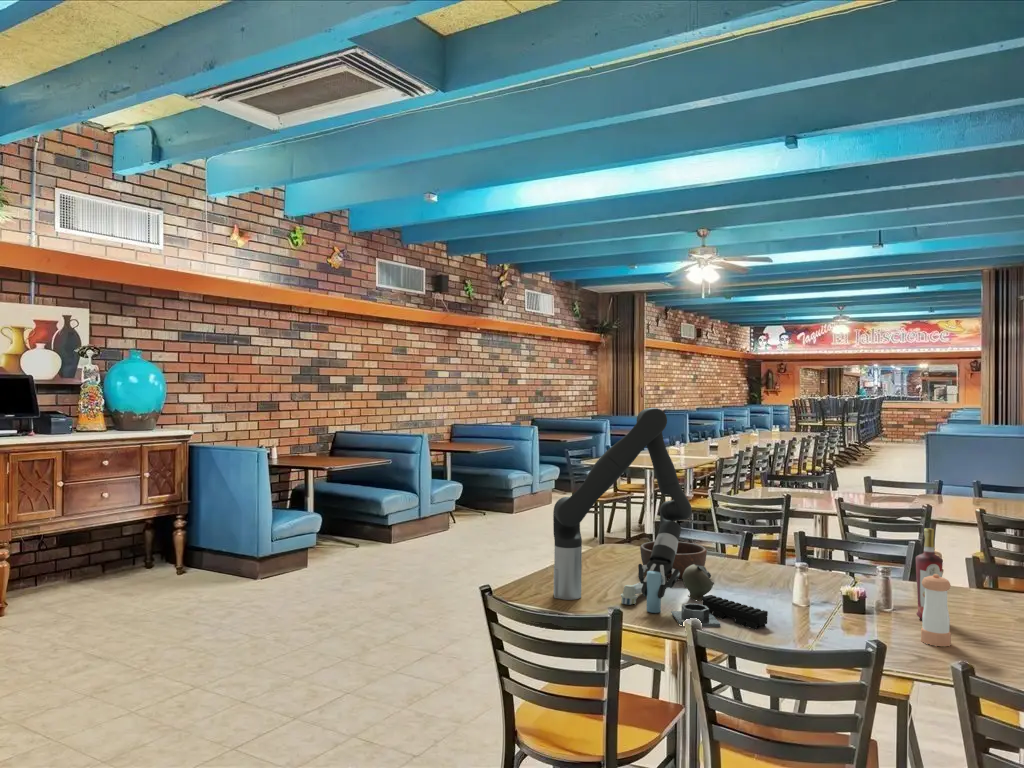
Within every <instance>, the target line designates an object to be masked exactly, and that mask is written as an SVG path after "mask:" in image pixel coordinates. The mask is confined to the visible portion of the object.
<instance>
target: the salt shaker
mask: <svg viewBox="0 0 1024 768" xmlns="http://www.w3.org/2000/svg"><path fill="white" fill-rule="evenodd" d="M922 585H923V587H925V604H924V610H923V615H922V619H921V621H922V627H921V628H920V641H921V642H922V643H923V642H924V643H923V644H925V643H927V644H926V645H928V644H930V645H929V646H931V645H936V646H935V647H937V646H949V647H951V646H952V632H951V631H950V624H951V623H950V621H951V620H950V619H951V618H950V612H949V607H948V591H950V589H951V587H952V586H951V585H952V584H951V583H950V581H949V580H948V579H947V578H945V577H943V576H942V577H939V575H938V574H933V576H928V577H924V579H923V580H922ZM950 645H951V646H950Z"/></svg>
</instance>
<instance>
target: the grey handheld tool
mask: <svg viewBox="0 0 1024 768" xmlns="http://www.w3.org/2000/svg"><path fill="white" fill-rule="evenodd" d="M642 586H643V584H641V583H640V582H637V583H635V584H632V585H631V584H625V585H624V586H623V591H622V593H620V598H621V599H620V600H621V604H623V605H630V606H631V605H633V604H635V603H636V604H637V599H638V598H639V597H638V595H639V594H642V591H641V590H642ZM636 604H635V605H636Z"/></svg>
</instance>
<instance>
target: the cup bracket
mask: <svg viewBox="0 0 1024 768" xmlns="http://www.w3.org/2000/svg"><path fill="white" fill-rule="evenodd" d="M671 613H672V615H673V616H674V617H675V619H676V620H677V621H678V623H679V624H680V625H682V626H683V622H684V621H685V620H686V619H690V618H697V619H699V620H700V621H701V623H702V626H703V627H702V628H704V627H705V628H707V627H708V628H721V622H720V621H719V620H718V619H717V617H715V616H713V615H712V614H711V613H710V611H709V608H708V607H707V606H705V605H703V604H700V603H686V604H682V605H681V611H679V610H671V611H670V614H671ZM672 615H671V616H672ZM673 616H672V617H673ZM674 617H673V618H674ZM675 619H674V620H675ZM676 620H675V621H676ZM678 623H677V624H678ZM679 624H678V625H679Z"/></svg>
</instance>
